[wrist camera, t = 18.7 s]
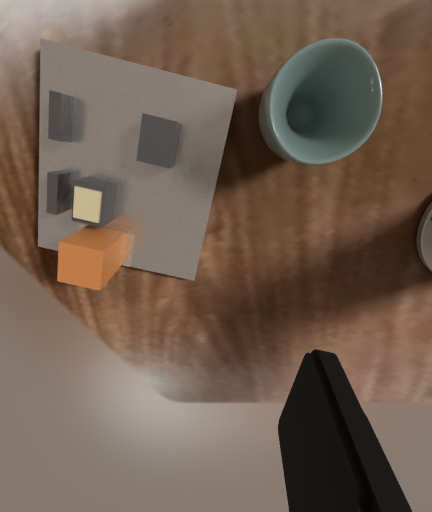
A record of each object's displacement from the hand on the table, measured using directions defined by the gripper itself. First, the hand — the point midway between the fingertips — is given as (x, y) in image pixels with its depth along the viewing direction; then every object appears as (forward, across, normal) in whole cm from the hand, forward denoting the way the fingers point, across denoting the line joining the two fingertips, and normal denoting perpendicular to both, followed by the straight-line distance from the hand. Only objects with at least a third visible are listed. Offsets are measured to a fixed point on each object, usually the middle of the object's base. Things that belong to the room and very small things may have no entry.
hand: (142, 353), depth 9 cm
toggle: (+23, +6, -5) cm, 25 cm away
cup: (+26, -6, -10) cm, 28 cm away
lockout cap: (+23, +11, +7) cm, 26 cm away
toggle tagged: (+23, +12, +2) cm, 26 cm away
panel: (+25, +9, -1) cm, 26 cm away
